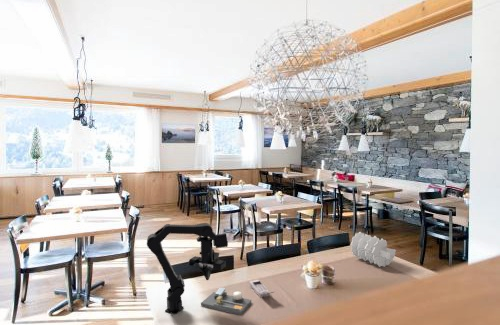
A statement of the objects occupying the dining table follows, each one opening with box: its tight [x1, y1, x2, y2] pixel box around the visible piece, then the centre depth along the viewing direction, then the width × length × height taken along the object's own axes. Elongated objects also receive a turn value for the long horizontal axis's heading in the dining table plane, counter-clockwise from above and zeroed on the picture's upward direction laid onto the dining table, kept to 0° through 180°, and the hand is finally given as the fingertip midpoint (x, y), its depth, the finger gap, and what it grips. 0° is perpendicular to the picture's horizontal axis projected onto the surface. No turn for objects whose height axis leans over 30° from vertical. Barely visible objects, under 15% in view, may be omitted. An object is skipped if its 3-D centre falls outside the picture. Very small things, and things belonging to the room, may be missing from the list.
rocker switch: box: [215, 286, 227, 296], centre depth 157 cm, size 3×5×1 cm, turn 155°
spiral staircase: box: [349, 231, 397, 268], centre depth 202 cm, size 18×18×25 cm
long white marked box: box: [249, 279, 276, 298], centre depth 164 cm, size 6×6×25 cm
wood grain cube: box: [216, 296, 223, 305], centre depth 150 cm, size 2×3×3 cm
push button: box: [232, 290, 243, 300], centre depth 153 cm, size 4×4×2 cm
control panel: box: [200, 291, 252, 316], centre depth 152 cm, size 22×12×3 cm, turn 65°
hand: (207, 279), depth 153 cm, fingers closed
